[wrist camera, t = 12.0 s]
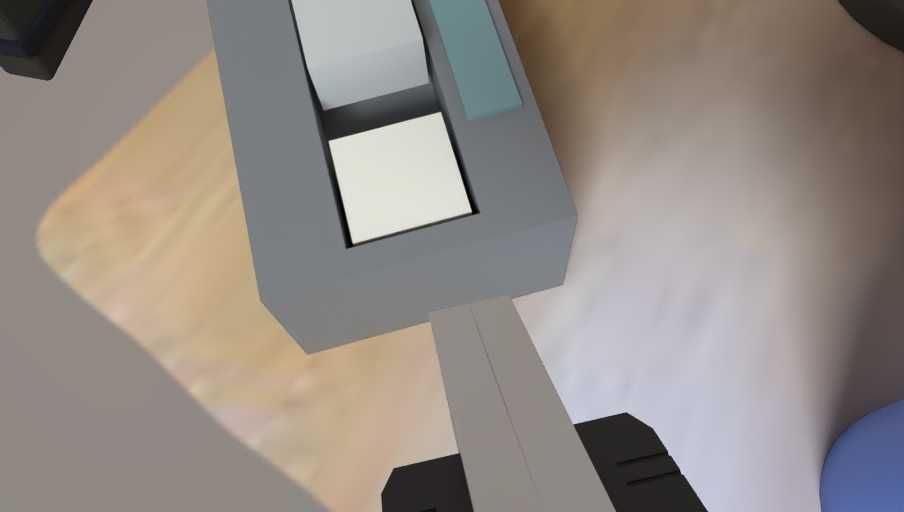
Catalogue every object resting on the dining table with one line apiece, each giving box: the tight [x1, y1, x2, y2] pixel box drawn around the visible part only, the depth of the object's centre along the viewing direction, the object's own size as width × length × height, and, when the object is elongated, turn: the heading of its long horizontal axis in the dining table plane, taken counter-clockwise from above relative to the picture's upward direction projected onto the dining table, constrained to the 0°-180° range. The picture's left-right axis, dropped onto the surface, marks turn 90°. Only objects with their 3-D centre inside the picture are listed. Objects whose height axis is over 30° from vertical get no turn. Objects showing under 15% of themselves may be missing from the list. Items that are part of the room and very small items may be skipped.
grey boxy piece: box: [207, 0, 578, 355], centre depth 38 cm, size 23×13×8 cm, turn 15°
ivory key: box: [329, 112, 472, 247], centre depth 34 cm, size 5×5×3 cm
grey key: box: [292, 0, 429, 110], centre depth 35 cm, size 5×5×3 cm
